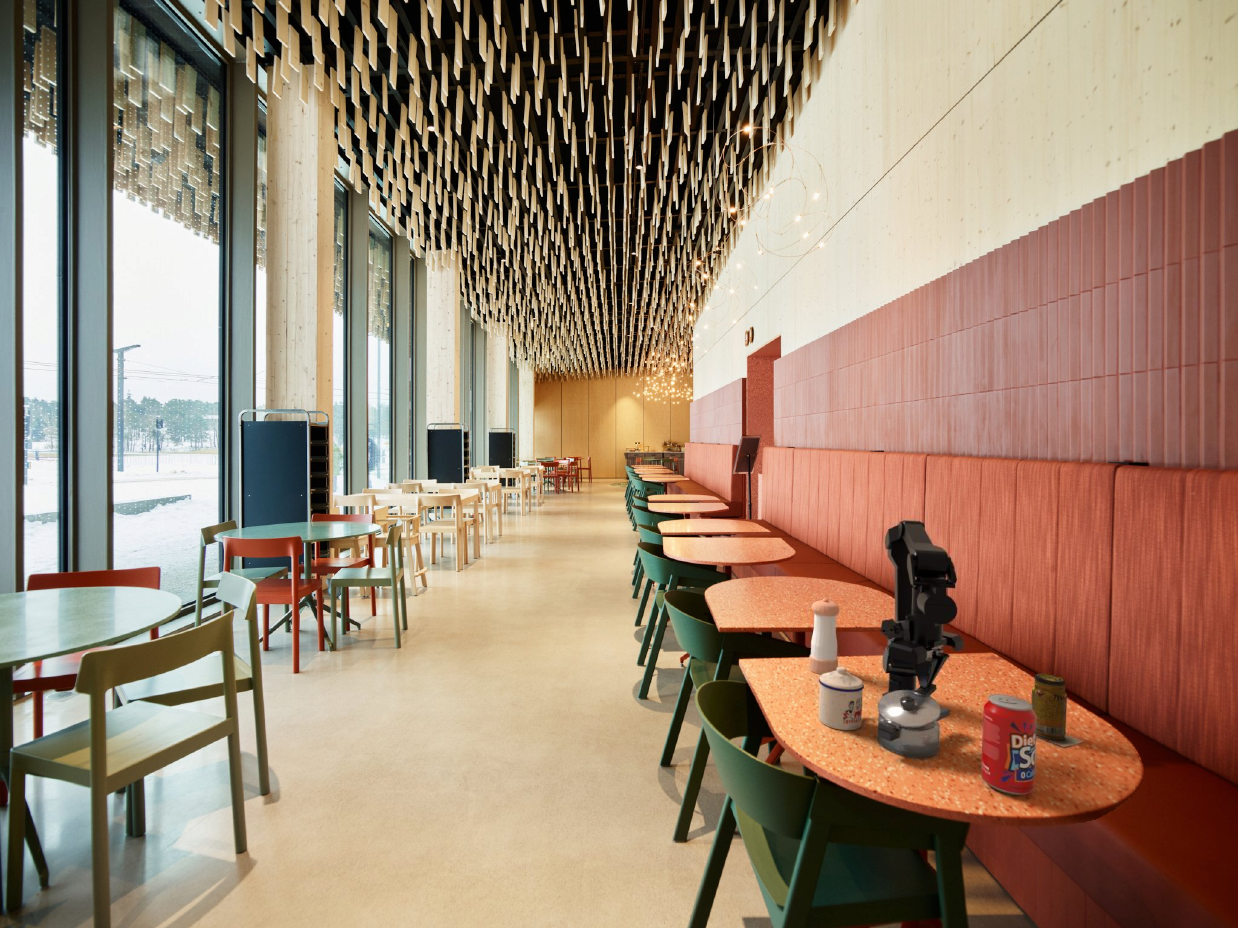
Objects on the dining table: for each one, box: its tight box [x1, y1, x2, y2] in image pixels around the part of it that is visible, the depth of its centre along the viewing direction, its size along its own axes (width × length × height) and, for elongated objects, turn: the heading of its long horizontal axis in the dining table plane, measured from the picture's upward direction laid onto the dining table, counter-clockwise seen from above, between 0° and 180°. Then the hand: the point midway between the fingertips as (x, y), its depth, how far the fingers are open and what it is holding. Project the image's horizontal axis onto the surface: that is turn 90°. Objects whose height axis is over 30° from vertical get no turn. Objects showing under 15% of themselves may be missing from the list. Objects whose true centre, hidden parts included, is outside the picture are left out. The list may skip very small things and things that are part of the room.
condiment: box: [1030, 673, 1085, 748], centre depth 129 cm, size 7×8×12 cm
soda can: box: [980, 693, 1037, 796], centre depth 108 cm, size 8×8×15 cm
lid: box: [877, 683, 941, 729], centre depth 123 cm, size 15×11×2 cm
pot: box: [877, 704, 951, 760], centre depth 124 cm, size 22×11×6 cm, turn 125°
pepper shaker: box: [808, 597, 840, 675], centre depth 165 cm, size 7×7×19 cm
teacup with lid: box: [818, 666, 865, 731], centre depth 134 cm, size 12×9×12 cm
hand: (924, 688), depth 126 cm, fingers closed
